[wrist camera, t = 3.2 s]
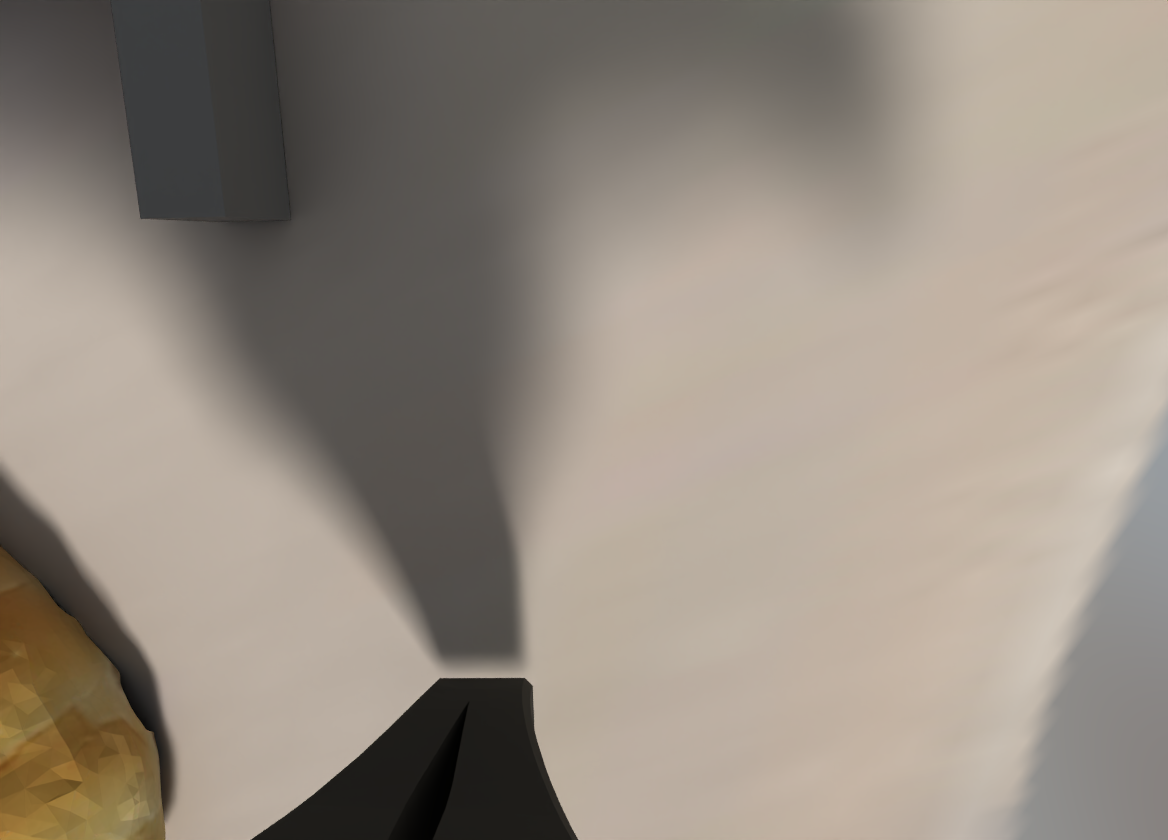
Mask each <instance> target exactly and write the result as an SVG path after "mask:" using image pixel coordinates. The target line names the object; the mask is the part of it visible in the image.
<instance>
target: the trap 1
mask: <svg viewBox="0 0 1168 840" xmlns="http://www.w3.org/2000/svg"><path fill="white" fill-rule="evenodd" d="M111 7H112V15H113V22H114V29H115V36H116V44H117V51H118V58H119V65H120V73H121V80H122V87H123V94H124V102H125V109H126V116H127V124H128V131H129V138H130V145H131V153H132V160H133V167H134V174H135V182H136V189H137V196H138V203H139V211H140V218H141V219H163V220H188V221H213V222H233V221H275V220H291V216H290V206H289V196H288V186H287V176H286V166H285V155H284V145H283V135H282V125H281V115H280V104H279V94H278V84H277V74H276V64H275V54H274V43H273V33H272V23H271V13H270V3H269V0H111Z"/></svg>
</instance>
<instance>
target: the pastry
mask: <svg viewBox="0 0 1168 840" xmlns="http://www.w3.org/2000/svg"><path fill="white" fill-rule="evenodd" d="M0 840H165V823H164V815H163V807H162V799H161V784H160V764H159V755H158V749H157V745H156V742H155V738H154V732H151V731H148V730H146V729H145V727H144V726H143V724H142V723H141V722H140V720H139V719H138V717H137V716H136V715H135V713H134V711H133V710H132V708H131V706H130V704H129V702H128V700H127V698H126V696H125V694H124V692H123V689H122V686H121V684H120V673H119V671H118V670H117V669H116V668H115V666H114V665H113V664H112V663H111V661H110V660H109V659H108V658H107V657H106V656H105V655H104V654H103V653H102V652H101V650H100V649H99V648H98V647H97V646H96V645H95V644H94V643H93V642H92V641H91V640H90V638H89V637H88V636H87V635H86V633H85V631H84V630H83V628H82V626H81V625H80V623H79V622H78V621H77V620H76V619H75V618H74V617H72V616H70V615H69V614H67V613H65V612H64V611H63V610H62V609H61V608H59V607H58V606H57V604H56V603H55V602H54V600H53V599H52V598H51V596H50V595H49V593H48V592H47V591H46V589H45V588H44V587H43V586H42V584H41V583H40V582H39V580H38V579H37V578H36V577H34V576H33V575H32V574H31V573H30V572H29V571H27V570H26V569H25V568H23V567H22V566H21V565H20V564H19V563H18V562H17V561H16V560H15V559H14V558H13V557H12V556H10V555H9V554H8V553H7V552H6V551H5V550H4V548H3V547H2V546H0Z"/></svg>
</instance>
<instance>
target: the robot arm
mask: <svg viewBox="0 0 1168 840" xmlns="http://www.w3.org/2000/svg"><path fill="white" fill-rule="evenodd" d="M251 840H578V839H577V837H576V835H575V833H574V831H573V830H572V828H571V826H570V824H569V822H568V820H567V818H566V816H565V813H564V811H563V809H562V807H561V805H560V803H559V800H558V798H557V796H556V793H555V791H554V788H553V786H552V784H551V781H550V779H549V776H548V773H547V771H546V768H545V765H544V762H543V758H542V755H541V752H540V749H539V746H538V742H537V739H536V735H535V731H534V710H533V686H532V685H531V684H530V683H529V682H528V681H527V680H526V679H525V678H440V679H439V680H438V681H437V682H436V683H435V684H433V685H432V686H431V687H430V688H429V689H428V690H427V691H426V692H425V693H424V694H423V695H422V696H421V697H420V698H419V699H418V700H417V701H416V702H415V703H414V704H413V705H412V706H411V707H410V708H409V709H408V710H407V711H406V712H405V713H404V714H403V715H402V716H401V717H400V718H399V719H398V720H397V721H396V722H395V723H394V724H393V725H392V726H391V727H390V728H389V729H387V730H386V731H385V732H384V733H383V734H382V735H381V736H380V737H379V738H378V739H377V740H376V741H375V742H374V743H373V744H372V745H370V746H369V747H368V748H367V749H366V750H365V751H364V752H363V753H362V754H361V755H360V756H359V757H357V758H356V759H355V760H354V761H353V762H351V763H350V764H349V765H348V766H347V767H346V768H344V769H343V770H342V771H341V772H340V773H338V774H337V775H336V776H335V777H334V778H333V779H331V780H330V781H329V782H328V783H327V784H325V785H324V786H323V787H322V788H321V789H320V790H318V791H317V792H316V793H315V794H314V795H312V796H311V797H310V798H308V799H307V800H306V801H304V802H303V803H302V804H301V805H299V806H298V807H297V808H295V809H294V810H293V811H291V812H290V813H288V814H287V815H286V816H284V817H283V818H282V819H280V820H279V821H277V822H276V823H274V824H273V825H271V826H270V827H269V828H267V829H266V830H264V831H263V832H261V833H260V834H258V835H257V836H255V837H254V838H253V839H251Z"/></svg>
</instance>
